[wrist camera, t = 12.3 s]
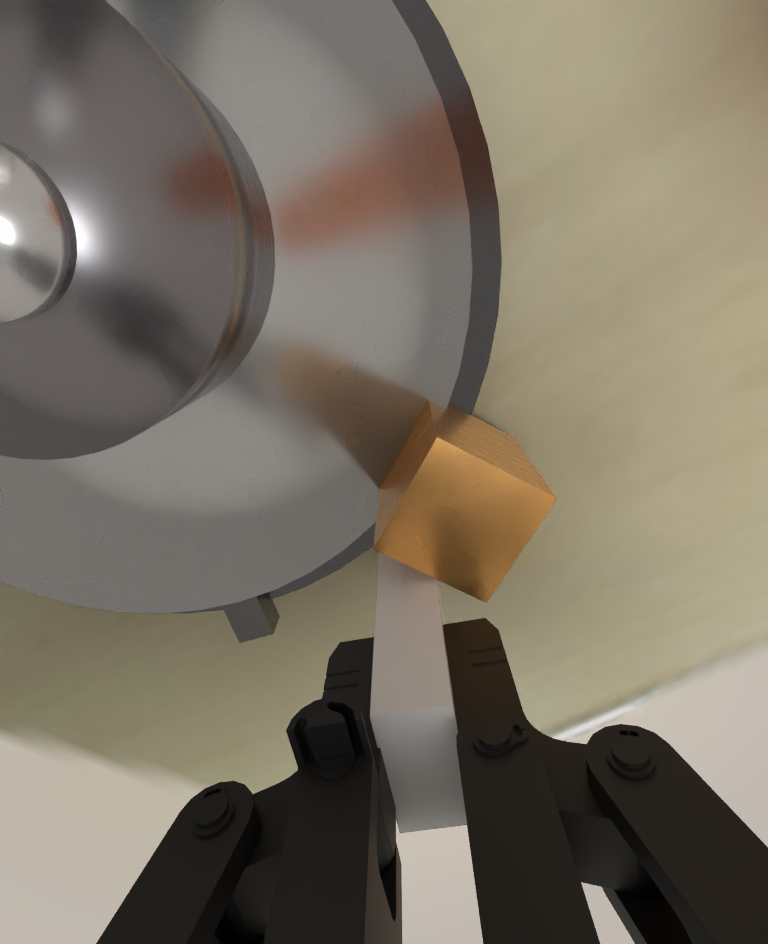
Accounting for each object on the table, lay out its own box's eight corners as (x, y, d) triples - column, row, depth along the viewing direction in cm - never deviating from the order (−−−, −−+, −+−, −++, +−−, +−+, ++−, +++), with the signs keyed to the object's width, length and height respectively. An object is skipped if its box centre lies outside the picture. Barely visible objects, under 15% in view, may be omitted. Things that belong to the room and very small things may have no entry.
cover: (198, 469, 16) (124, 539, 12) (-108, 319, 15) (-318, 335, 10) (334, 163, 13) (303, 107, 9) (-28, -51, 12) (-267, -237, 8)
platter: (347, 702, 20) (331, 831, 15) (-283, 430, 17) (-539, 487, 13) (687, 155, 14) (832, 91, 9) (-200, -405, 11) (-636, -904, 6)
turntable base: (-224, 491, 19) (-255, 503, 18) (-259, -364, 12) (-314, -417, 11) (364, 666, 21) (362, 684, 20) (626, 6, 14) (642, -14, 13)
